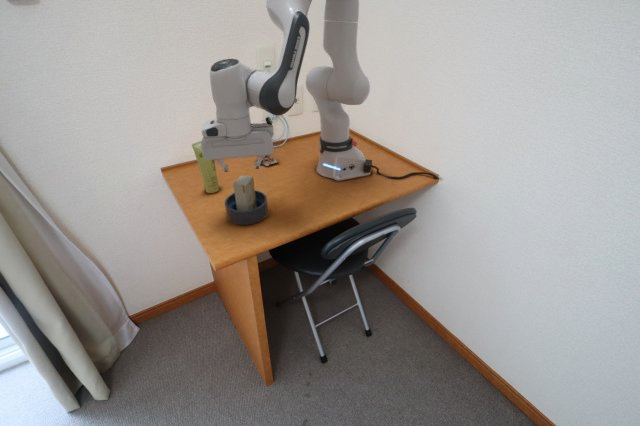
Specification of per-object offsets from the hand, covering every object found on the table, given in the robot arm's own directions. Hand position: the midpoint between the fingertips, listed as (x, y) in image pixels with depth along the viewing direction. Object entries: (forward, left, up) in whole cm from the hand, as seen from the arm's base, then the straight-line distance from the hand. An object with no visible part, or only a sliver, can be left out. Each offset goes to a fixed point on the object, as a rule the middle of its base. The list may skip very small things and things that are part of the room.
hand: (242, 169), depth 95 cm
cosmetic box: (0, 0, -16) cm, 16 cm away
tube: (+13, -18, -17) cm, 28 cm away
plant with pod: (-8, -39, -17) cm, 43 cm away
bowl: (0, 0, -16) cm, 16 cm away
